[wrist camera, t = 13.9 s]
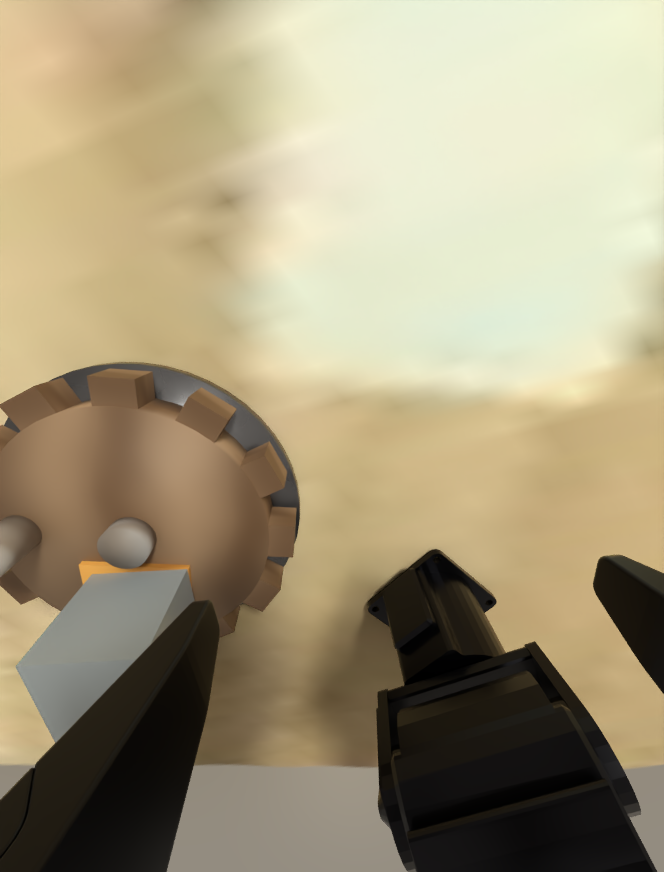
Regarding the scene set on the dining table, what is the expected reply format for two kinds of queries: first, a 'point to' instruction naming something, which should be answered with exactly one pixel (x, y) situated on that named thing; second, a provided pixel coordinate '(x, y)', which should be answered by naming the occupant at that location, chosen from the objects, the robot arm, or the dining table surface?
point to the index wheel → (137, 494)
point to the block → (99, 640)
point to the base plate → (177, 390)
